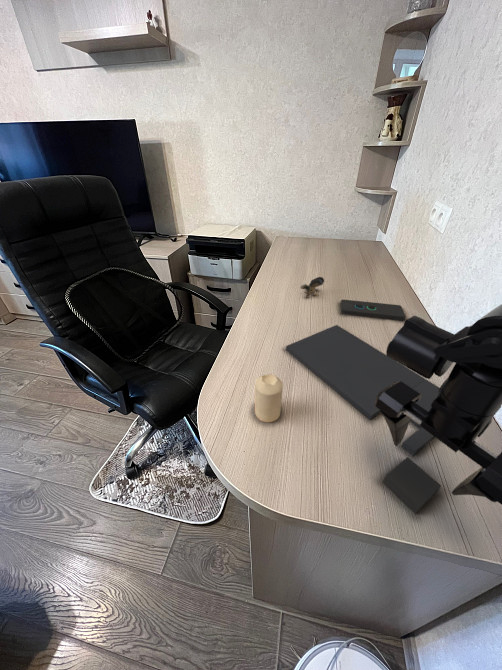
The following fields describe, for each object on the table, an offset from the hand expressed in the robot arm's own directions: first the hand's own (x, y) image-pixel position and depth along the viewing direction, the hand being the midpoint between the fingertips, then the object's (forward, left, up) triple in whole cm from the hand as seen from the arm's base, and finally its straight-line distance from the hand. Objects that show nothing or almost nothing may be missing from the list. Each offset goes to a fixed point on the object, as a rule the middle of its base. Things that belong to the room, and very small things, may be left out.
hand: (423, 466), depth 43 cm
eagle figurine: (+63, -36, -7) cm, 73 cm away
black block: (0, 0, -7) cm, 7 cm away
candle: (+26, +11, -7) cm, 29 cm away
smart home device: (+42, -44, -7) cm, 61 cm away
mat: (+22, -16, -7) cm, 28 cm away
